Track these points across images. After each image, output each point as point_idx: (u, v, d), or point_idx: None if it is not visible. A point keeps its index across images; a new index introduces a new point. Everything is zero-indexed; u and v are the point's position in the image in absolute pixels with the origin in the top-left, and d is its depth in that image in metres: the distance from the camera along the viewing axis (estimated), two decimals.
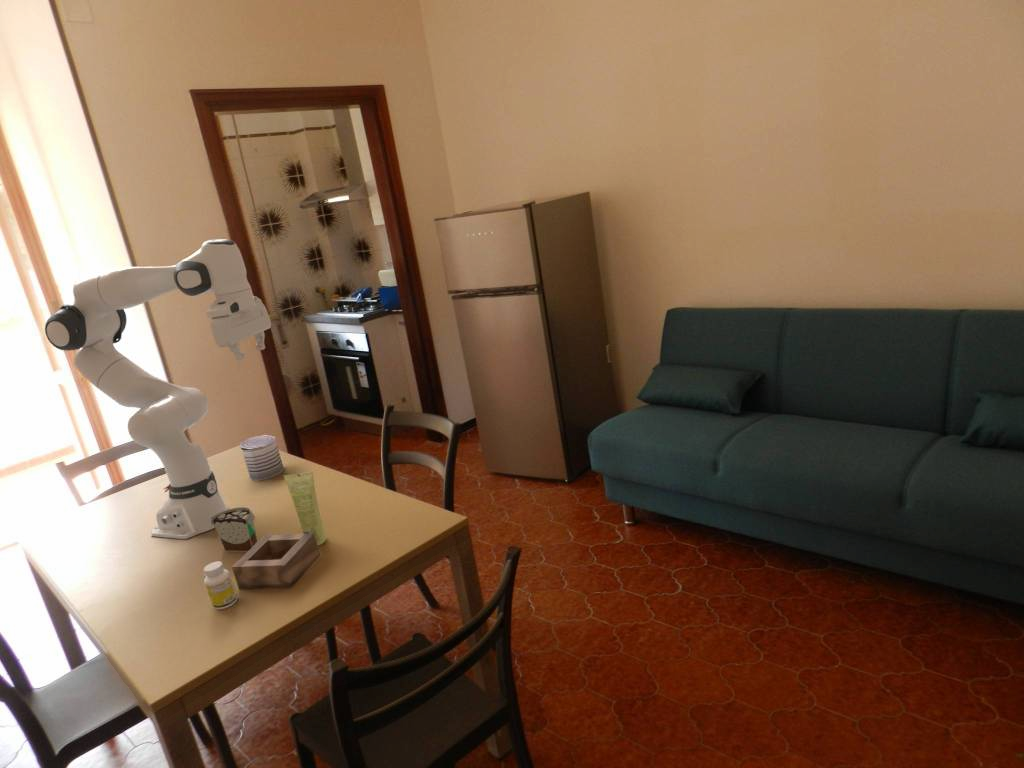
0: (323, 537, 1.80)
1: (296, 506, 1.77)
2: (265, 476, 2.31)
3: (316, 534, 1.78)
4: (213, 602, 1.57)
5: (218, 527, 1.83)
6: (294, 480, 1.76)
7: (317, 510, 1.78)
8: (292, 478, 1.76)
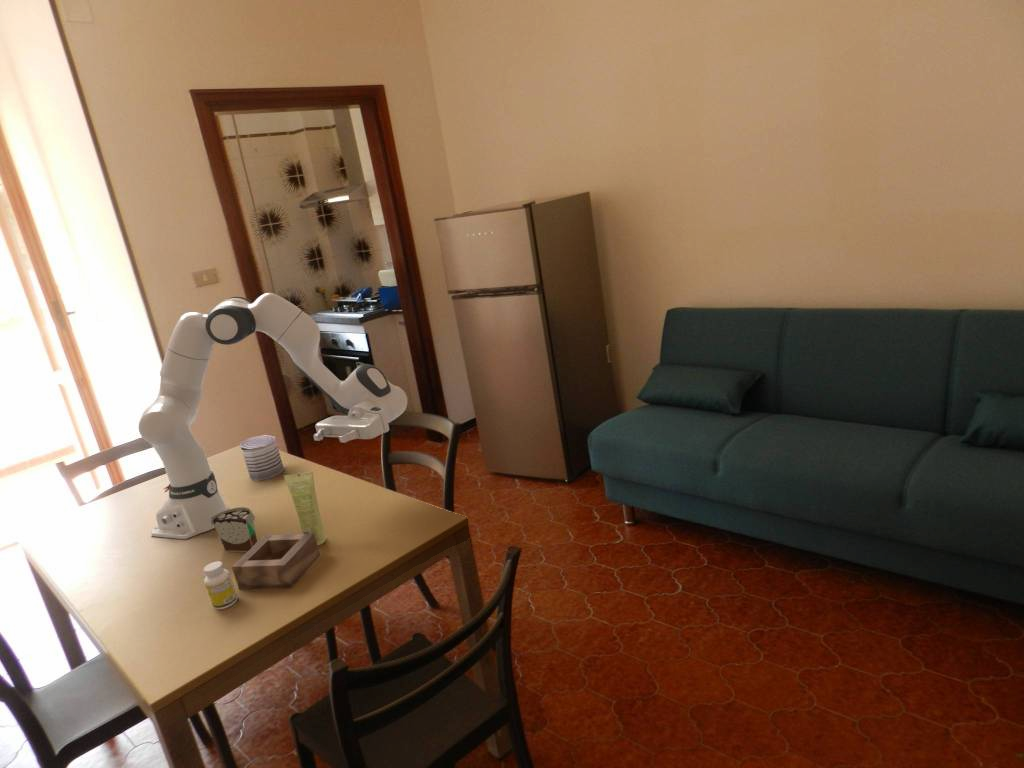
0: (323, 537, 1.80)
1: (296, 506, 1.77)
2: (265, 476, 2.31)
3: (316, 534, 1.78)
4: (213, 602, 1.57)
5: (218, 527, 1.83)
6: (294, 480, 1.76)
7: (317, 510, 1.78)
8: (292, 478, 1.76)
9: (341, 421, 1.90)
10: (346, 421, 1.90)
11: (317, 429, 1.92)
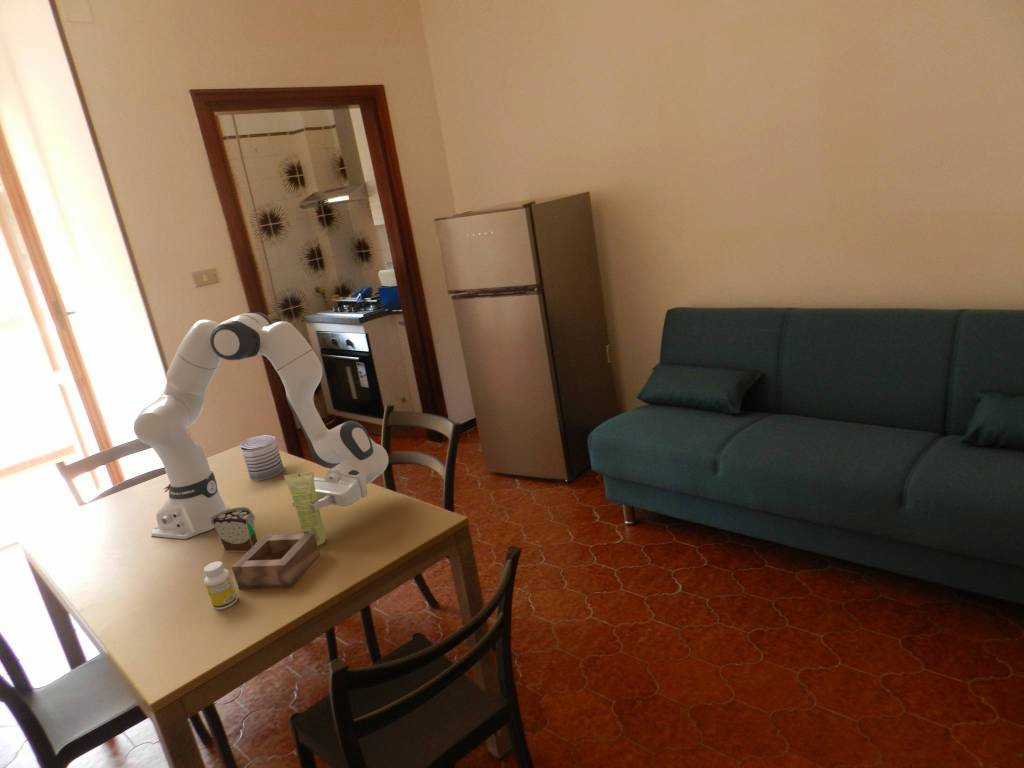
0: (323, 537, 1.80)
1: (296, 506, 1.77)
2: (265, 476, 2.31)
3: (317, 534, 1.78)
4: (213, 602, 1.57)
5: (218, 527, 1.83)
6: (294, 480, 1.76)
7: (317, 510, 1.78)
8: (292, 478, 1.76)
9: (318, 485, 1.84)
10: (323, 485, 1.83)
11: None
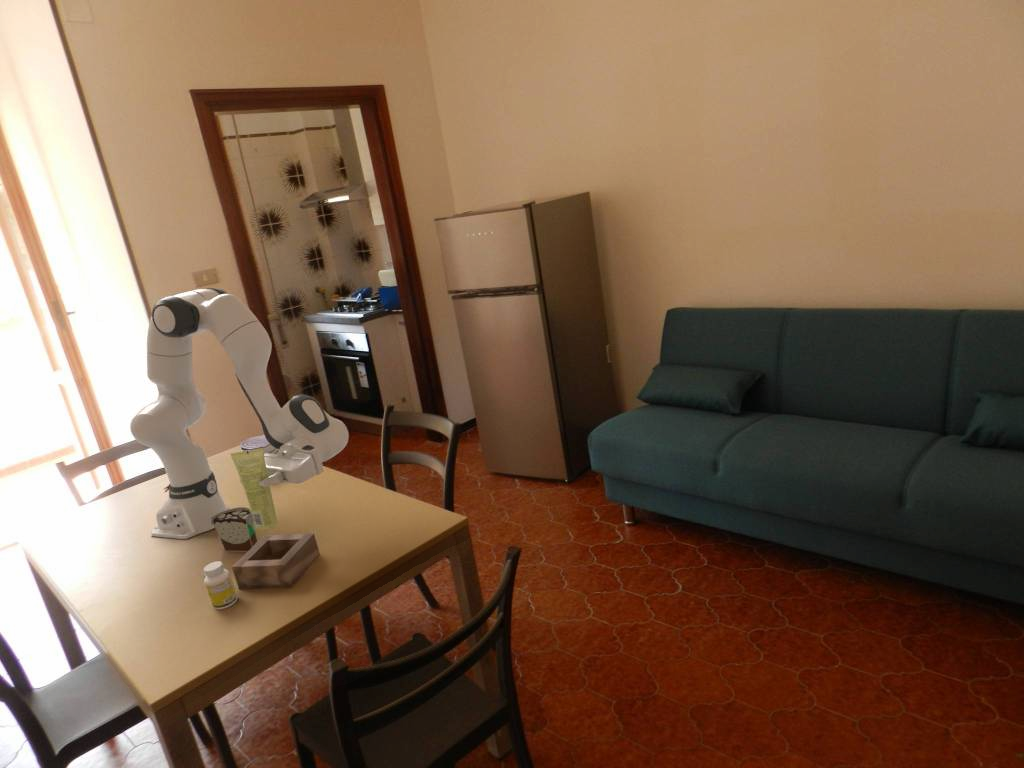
0: (275, 520, 1.66)
1: (245, 486, 1.62)
2: None
3: (268, 517, 1.64)
4: (213, 602, 1.57)
5: (218, 527, 1.83)
6: (242, 458, 1.61)
7: (268, 490, 1.64)
8: (240, 456, 1.61)
9: (269, 461, 1.69)
10: (274, 461, 1.68)
11: None
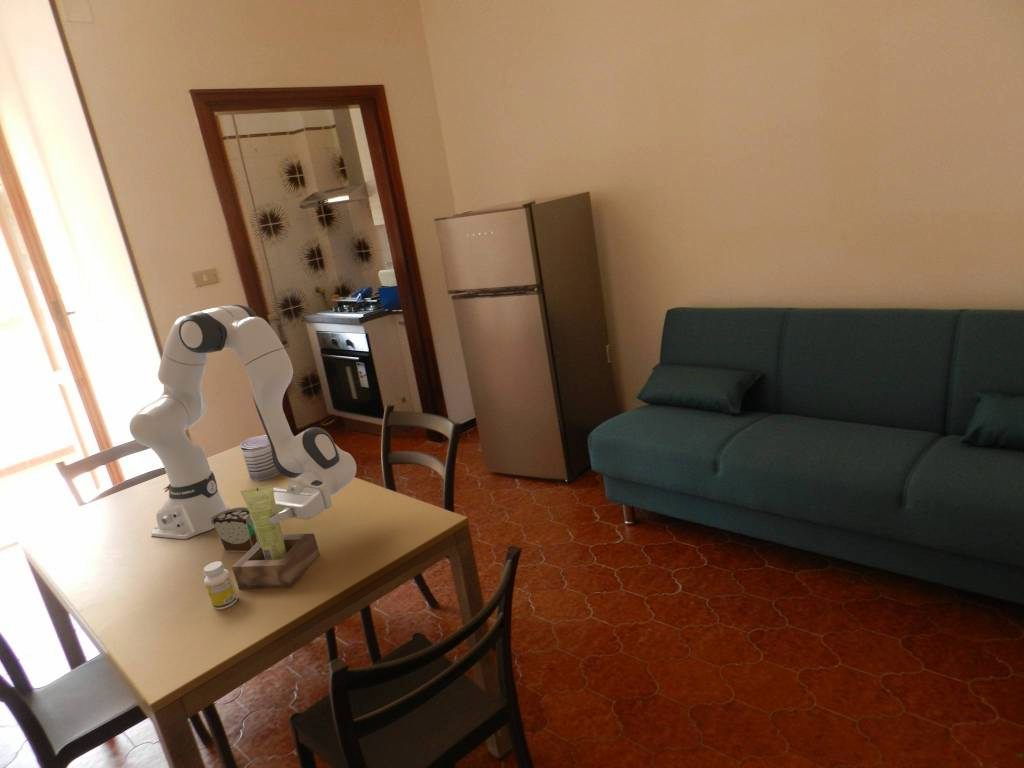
0: None
1: (255, 523, 1.64)
2: (265, 476, 2.31)
3: (278, 552, 1.66)
4: (213, 602, 1.57)
5: (218, 527, 1.83)
6: (252, 495, 1.64)
7: (278, 526, 1.66)
8: (250, 493, 1.64)
9: (278, 496, 1.72)
10: (284, 497, 1.71)
11: None
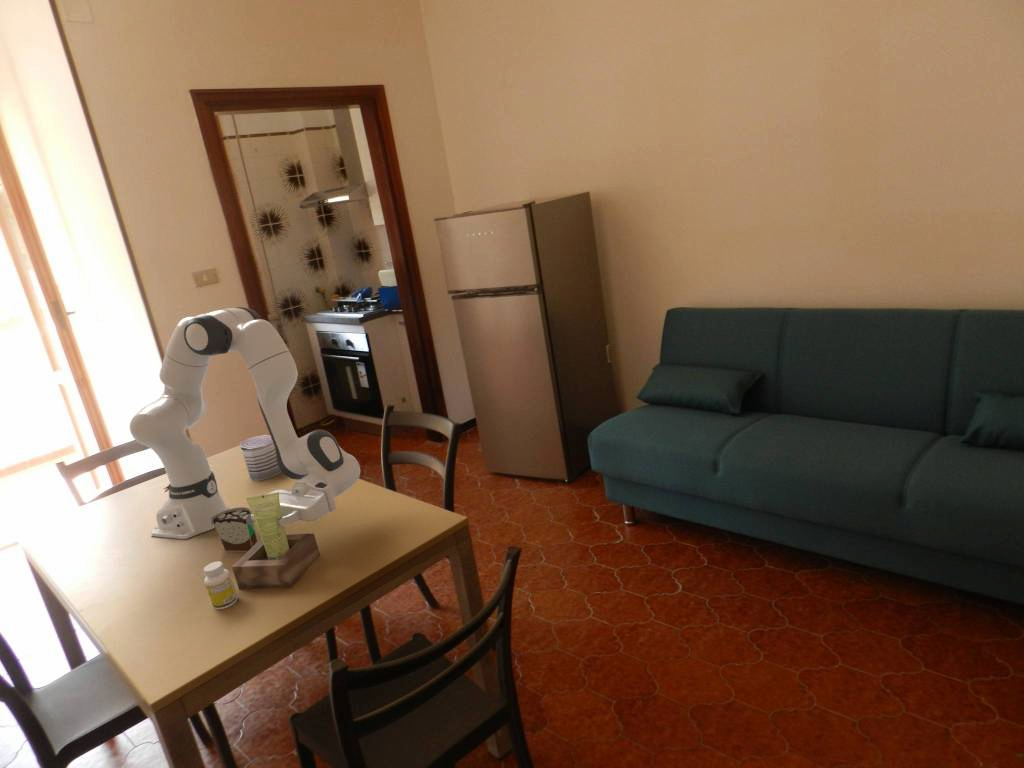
0: None
1: (261, 530, 1.64)
2: (265, 476, 2.31)
3: None
4: (213, 602, 1.57)
5: (218, 527, 1.83)
6: (258, 502, 1.64)
7: (284, 533, 1.66)
8: (256, 500, 1.64)
9: (283, 498, 1.73)
10: (288, 499, 1.72)
11: None
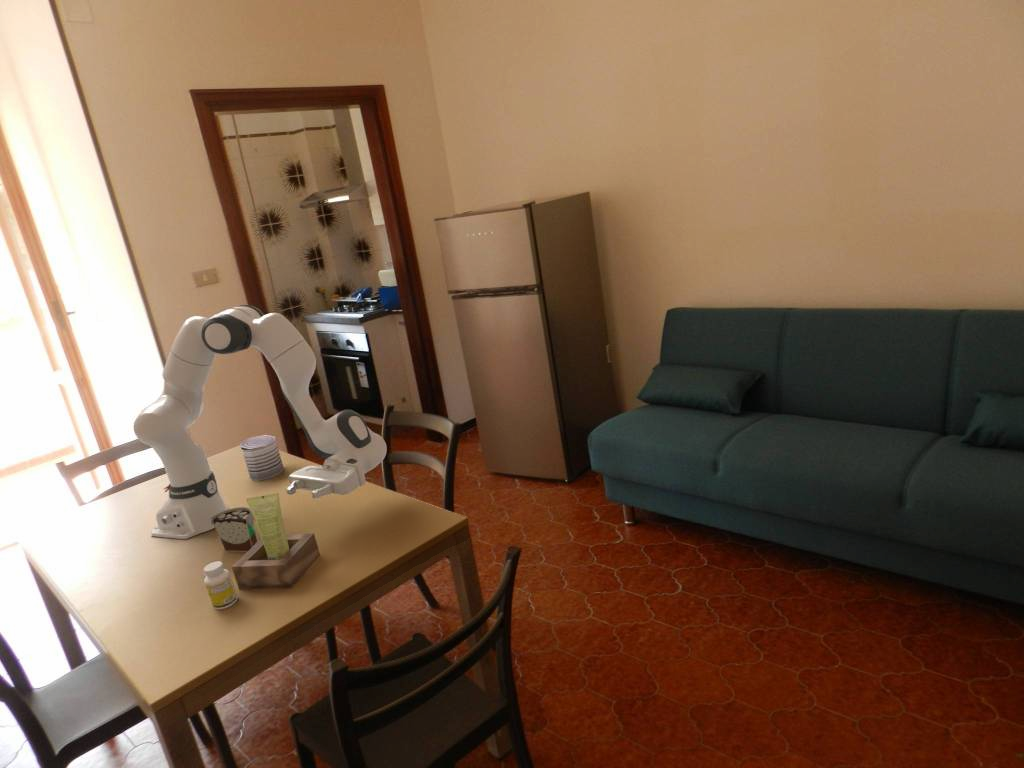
0: None
1: (261, 530, 1.64)
2: (265, 476, 2.31)
3: None
4: (213, 602, 1.57)
5: (218, 527, 1.83)
6: (258, 502, 1.63)
7: (284, 533, 1.66)
8: (256, 500, 1.63)
9: (315, 473, 1.83)
10: (321, 473, 1.82)
11: (290, 481, 1.84)
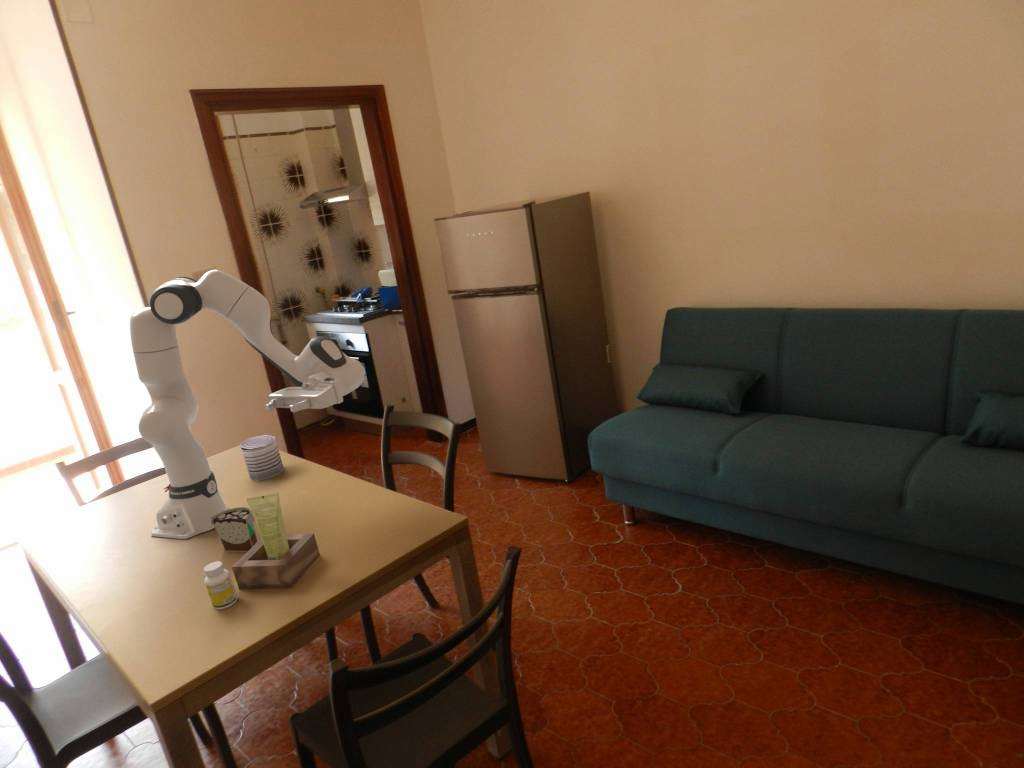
0: None
1: (261, 530, 1.64)
2: (265, 476, 2.31)
3: None
4: (213, 602, 1.58)
5: (218, 527, 1.83)
6: (258, 502, 1.63)
7: (284, 534, 1.66)
8: (256, 500, 1.63)
9: (294, 392, 1.88)
10: (299, 391, 1.87)
11: (270, 400, 1.90)
